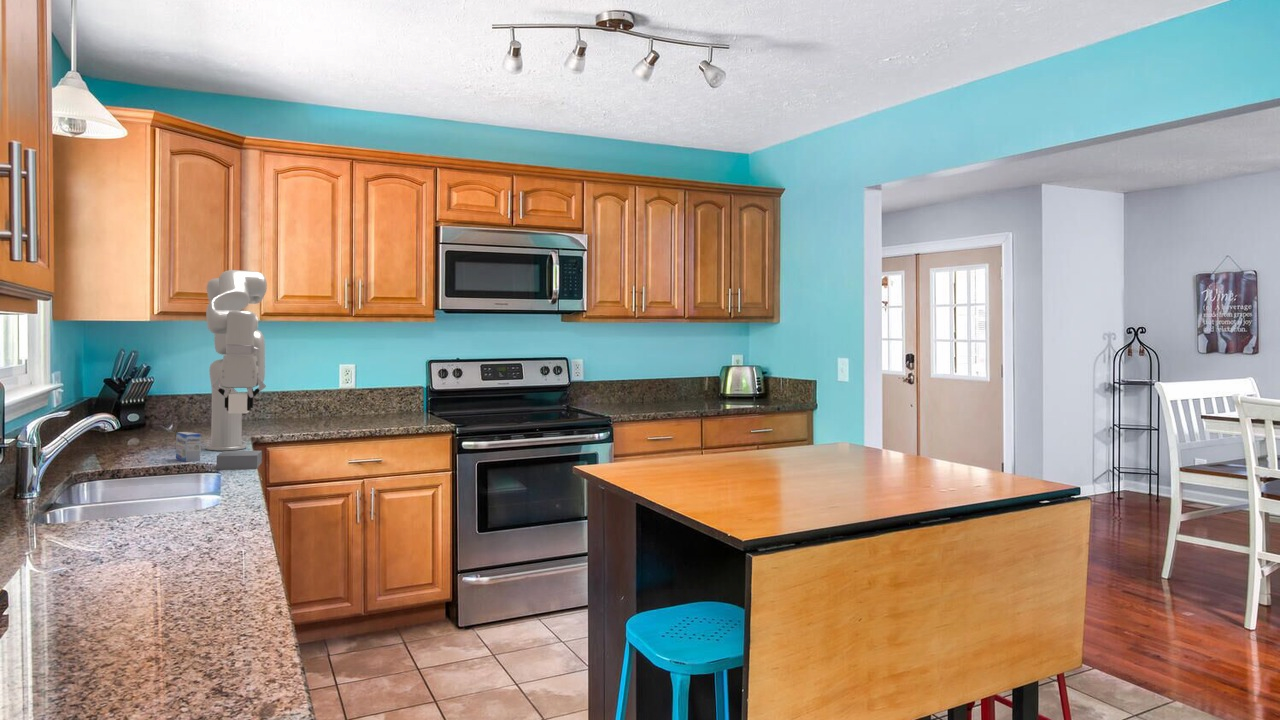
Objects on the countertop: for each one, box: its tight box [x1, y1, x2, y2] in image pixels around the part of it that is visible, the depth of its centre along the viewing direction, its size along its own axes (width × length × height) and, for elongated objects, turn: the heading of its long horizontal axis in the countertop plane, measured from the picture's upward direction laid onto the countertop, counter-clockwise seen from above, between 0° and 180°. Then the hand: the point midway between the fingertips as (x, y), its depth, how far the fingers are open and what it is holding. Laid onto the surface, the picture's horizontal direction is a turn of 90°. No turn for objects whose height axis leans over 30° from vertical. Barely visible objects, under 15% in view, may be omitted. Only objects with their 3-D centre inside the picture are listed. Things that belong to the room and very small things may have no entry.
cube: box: [228, 392, 250, 414], centre depth 241 cm, size 5×5×6 cm
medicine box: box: [175, 431, 202, 463], centre depth 251 cm, size 8×4×9 cm, turn 52°
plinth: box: [215, 450, 263, 471], centre depth 241 cm, size 11×11×4 cm
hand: (238, 409), depth 241 cm, fingers closed on cube, 5 cm apart
